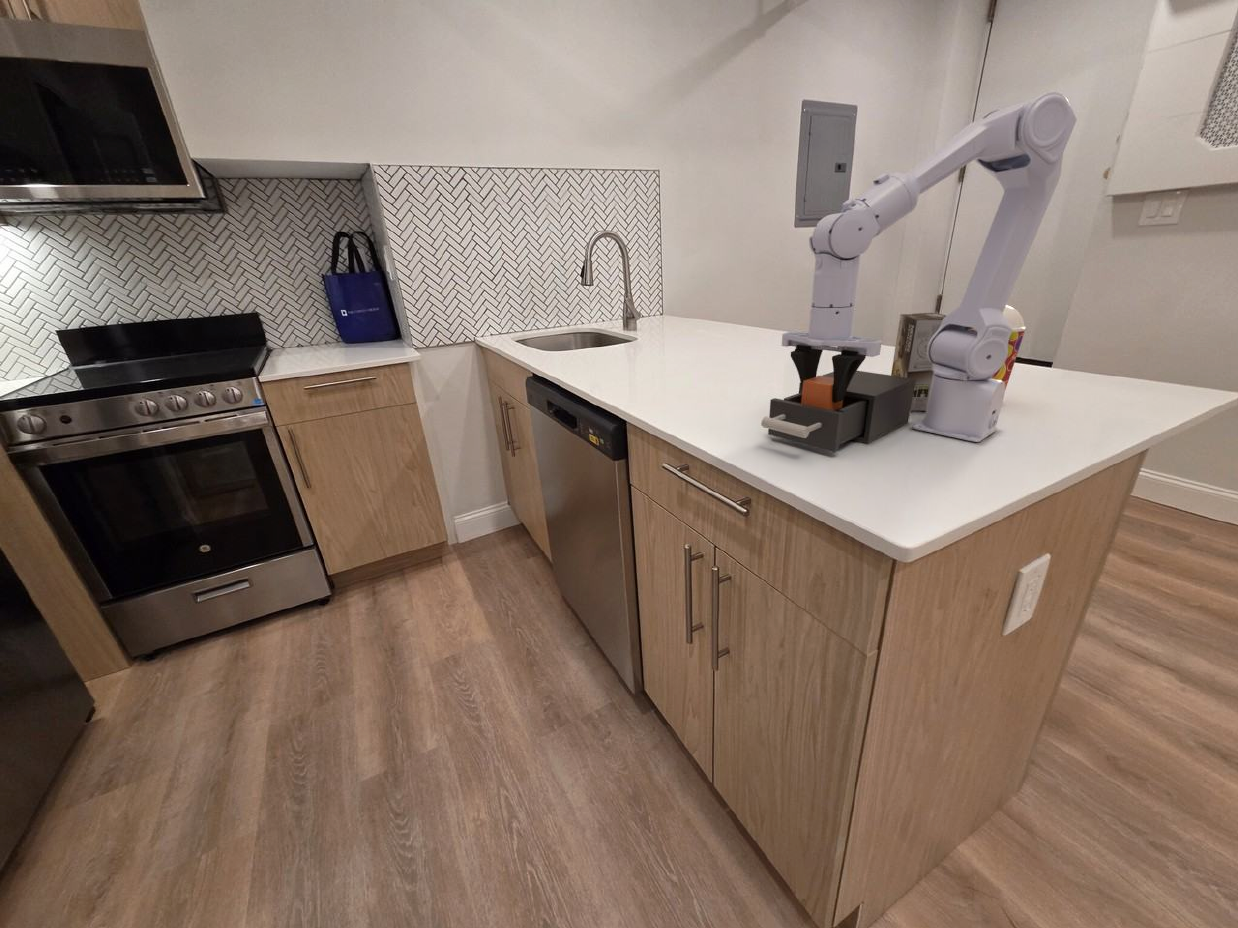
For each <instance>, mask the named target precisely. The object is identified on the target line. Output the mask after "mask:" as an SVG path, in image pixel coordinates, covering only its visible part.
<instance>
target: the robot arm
mask: <svg viewBox="0 0 1238 928" xmlns="http://www.w3.org/2000/svg"><path fill="white" fill-rule="evenodd" d="M1076 123H1077V117H1076V115H1075V112H1074V110H1073V109H1072V106H1071V103H1070V101H1069V99H1068V98H1067V97H1066V96H1065V95H1064V94H1063V93H1060V92H1057V91H1049V92H1046V93H1043V94H1040V95H1038V96H1037V97H1035V98H1032V99H1029V100H1026V101H1023V102H1020V103H1017V104H1014V105H1010V106H1008V107H1005V108H1002V109H995V110H992V111H989V112H987V113H985V114H984V115H983V116H981V117H980V118H979V119H977V120H975V121H973V122H970V123H969V124H967V125H966V126H965V127H964V128H963V129H962V130H960V131H959V132H958V133H956V134H955V135H954V136H953V137H952V138H949V140H947V141H946V142H945V143H944V144H943V145H941V146H939V147H938V148H937V149H936V150H935V151H933V152H932V153H931V154H929V155H928V156H926V158H925V159H923V160H922V161H920V162H919V163H918V164H916V166H914V167H913V168H912V169H910V170H909V171H908V172H906V173H904V172H897V171H894V172H891V173H890V174H888V173H883V174H880V175H878V176H877V177H876V178H874V179H873V181H872V182H873V186H870V188H869V189H867V190H866V191H864V192H862V193H861V194H860V195H859V196H857V197H855V198H854V199H853V198H851V199H847V200H846V201H845V202H843V203H842V208H841V210H840V212H839V213H838V212H837V213H831V214H828V215H826V216H823V217H822V219H820V220H819V221H818V222H817V224H816V227H815V228H814V229H813V232H812V235H811V236H809V237H808V244H809V248H810V250H811V252H812V254H813V255H814V258H815V259H814V260H815V262H814V271H813V282H812V293H811V301H810V302H811V304H810V305H811V306H810V315H809V325H808V332H795V331H794V332H792V331H789V332H785V333H782V334H781V335H782V337H781V347H787V348H788V347H795V349H794V350H793V351H790V358H791V360H792V361H793V364H794V366H795V369H796V371H797V374H798V377H799V381H800V382H799V383H801V388H802V389H803V381H804V380H807V379H811V378H814V377H817V376H818V374H817V373H818V368H819V364H820V360H821V357H822V354H823V351H829V352H835V353H836V352H838V353H839V354H835V355H832V356H831V361H832V367H833V368H832V370H833V371H832V372H834V382H833V390H832V402H835V403H837V402H840V401H842V400H843V399H844V396H845V393H846V391H847V388H848V386H849V384H850V381H851V379H852V378H853V376H854V374H855V372H856V371H858V369H859V368H860V367H861V365H862V364H863V362H864V361H865V360H866V358H867V357H870V358H874V357H877V356H880V354H881V348H882V342H883V341H882V340H878V339H877V340H876V339H870V338H864V337H860V336H853V335H852V334H851V333H852V327H853V320H854V319H853V318H854V311H855V302H856V295H857V287H858V286H857V285H858V279H859V278H858V277H859V270H860V262H861V261H860V260H861V255H863V254H865V253H866V251H867V250H868V249H869V247H870V245H871V244H872V241H873V239H874V238H876V237H877V236H879V235H881V234H882V233H883V232H884V231H886V230H887V229H889V228H890V227H892V226H894V225H895V224H896V223H898V222H899V221H900V220H902V219H903V218H905V217H906V216H907V215H909V214H910V213H912V212H913V211H915V209H916V207H917V205H918V201H919V197H920V195H922V194H923V193H925V192H926V191H928V190H929V189H931V188H933V187H934V186H936V185H937V184H939V183H940V182H942V181H944V180H945V179H946V178H948V177H950V176H951V175H953V174H954V173H956V172H957V171H959V170H961V169H962V168H964V167H965V166H967V165H968V164H970V163H972V162H973V161H975V163H976V164H978V165H979V166H980V168H983V169H984V171H986V172H987V173H988V174H990V175H991V176H992V177H993V178H994V179H995V180H996V181H998V182H999V183H1000V185H1001V187H1002V189H1003V195H1002V197H1001V200H1000V202H999V205H998V207H997V210H996V212H995V214H994V217H993V219H992V223H991V225H990V228H989V231H988V233H987V235H986V238H985V240H984V243H983V246H982V248H981V251H980V254H979V256H978V259H977V261H976V264H975V266H974V269H973V271H972V274H971V276H970V279H969V282H968V284H967V287H966V289H965V291H964V295H963V297H962V299H961V302H960V304H959V306H958V307H957V308H955V309H954V310H953V311H951V312H950V313H948V314H947V315H946V317H944V319H943V321H942V323H941V326H940V328H939V329H938V331H937V332H936V333H935V334H934V335H933V336H932V337H931V339H930V341H929V342H928V345H927V350H926V353H927V358H928V360H929V361H930V362H931V363H932V369H931V370H932V371H933V376H932V382H931V387H930V392H929V397H928V402H927V407H926V411H925V413H924V417H923V420H921V421H919V422H917V423H916V424H913V425H912V429H914V430H917V431H922V432H926V433H927V432H928V433H932V434H936V435H940V436H946V437H951V438H954V439H960V440H965V441H969V442H974V443H979V442H981V441H983V440H984V439H986V438H987V437H988V436H990V435H992V434H993V433H995V432H996V431H997V430H998V427H997V425H998V421H999V417H1000V413H1001V409H1002V405H1003V400H1004V397H1005V394H1006V393H1005V392H1006V390H1005V382H1004V381H1001V380H995V379H992V375H993V374H994V373H996V372H997V371H998V370H999V369H1000V368H1001V367H1002V366H1003V364H1004V362H1005V360H1006V358H1007V355H1008V341H1009V338H1010V335H1011V333H1012V328H1011V326H1010V324H1009V323H1008V321H1007V320H1006V318H1005V317H1004V315H1003V311H1004V309H1005V306H1006V305H1007V304H1008V301H1009V299H1010V297H1011V295H1012V292H1013V290H1014V287H1015V284H1016V283H1017V280H1018V278H1019V276H1020V274H1021V271H1022V268H1023V266H1024V264H1025V261H1026V259H1027V256H1028V255H1029V252H1030V250H1031V247H1032V245H1033V242H1034V240H1035V238H1036V235H1037V233H1038V231H1039V228H1040V226H1041V223H1042V221H1043V219H1044V217H1045V214H1046V212H1047V210H1048V207H1049V205H1050V203H1051V200H1052V197H1053V195H1054V193H1055V190H1056V188H1057V186H1058V183H1059V181H1060V178H1061V174H1062V167H1063V159H1064V151H1065V150H1066V147H1067V144H1068V142H1069V140H1070V138H1071V135H1072V132H1073V130H1074V127H1075V125H1076ZM973 328H974V329H976V331H977V332H973V331H970V330H971V329H973Z"/></svg>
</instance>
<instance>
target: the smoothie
mask: <svg viewBox="0 0 1238 928" xmlns="http://www.w3.org/2000/svg"><path fill="white" fill-rule="evenodd" d="M1003 315H1004V317H1005V318H1006V320H1007V321H1008V323H1009V324H1010V326H1011V328H1012V333H1011V335H1010V338H1009V341H1008V355H1007V358H1006V360H1005V362H1004V364H1003V366H1002V367H1001V368H1000V369H999V370H998V371H997V372H996V373H994V374H993V375H992V379H995V380H1001V381H1004V382H1005V391H1007V386H1008V383H1009V380H1010V377H1011V375H1012V372H1013V368H1014V365H1015V363H1016V359H1017V356H1018V354H1019V351H1020V348H1021V344H1022V342H1023V339H1024V337H1025V336H1024V335H1025V331H1026V330H1027V326H1026V325H1025V319H1024V317H1023V316H1022V314H1021V313H1020V311H1019V310H1017V309H1016V308H1014V307H1012V306H1010V305H1007V304H1006V306H1005V309H1004V311H1003ZM970 331H973V332H977V331H976V329H974V328H973V329H971V330H970Z"/></svg>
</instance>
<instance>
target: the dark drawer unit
mask: <svg viewBox="0 0 1238 928" xmlns="http://www.w3.org/2000/svg"><path fill="white" fill-rule="evenodd" d="M821 376H825V377H831V378H834V372H833V371H831V372H829V373H825V374H823V375H821ZM915 382H916V379H912V378H905V377H898V376H891V374H884V373H876V372H871V371H870V372H869V371H862V370H857V371H856V372H855V374H854V376H853V378H852V379H851V381H850V384H849V386H848V388H847V391H846V393H845V396H849V397H854V398H859V399H865V400H869V405H868V412H867V419H866V425H865V432H864V433H863V434H861V435H859V436H857V437H855V438H853V439H851V440H850V441H853V442H854V441H855V442H858V443H863V444H867V445H868V444H871V443H873V442H875V441H877V440H878V439H880V438H882V437H884V436H886V435H888V434H890V433H892V432H894V431H896V430H898V429H900V428H902V427H904V426H905V425H907V424H909V421H910V416H911V415H910V414H911V411H910V410H911V404H912V399H913V393H914V388H915ZM801 392H802V388H801V382H799V385H798V393H801Z"/></svg>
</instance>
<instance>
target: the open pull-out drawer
mask: <svg viewBox="0 0 1238 928" xmlns="http://www.w3.org/2000/svg"><path fill="white" fill-rule="evenodd" d="M801 400H802V392H801V393H799V392H798V393H795V394H793V395H790V396H787V397H784V398H783V399H782V398H776V397H774V398H772V399H770V400H769V401H770V402H769V403H770V404H769V416H764V417H763V419H762V420H761V427H762V428H765V429H768V431H767V434H768V435H769V436H772V437H776V438H780V439H784V440H786V441H791V442H795V443H798V444H800V445H805V446H809V447H812V448H816V449H819V450H823V451H827V452H830V453H837V452H839V450H840V445H842V444H845V443H846V442H848V441H852V440H851V439H853V438H855V437H857V436H859V435H861V434H863V433H864V432H865V425H866V419H867V412H868V405H869V400H865V399H859V398H854V397H849V396H844V399H843V404H842V408H840V409H838V410H835V411H834V410H829V409H824V408H819V407H815V406H810V405H805V404H801Z"/></svg>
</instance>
